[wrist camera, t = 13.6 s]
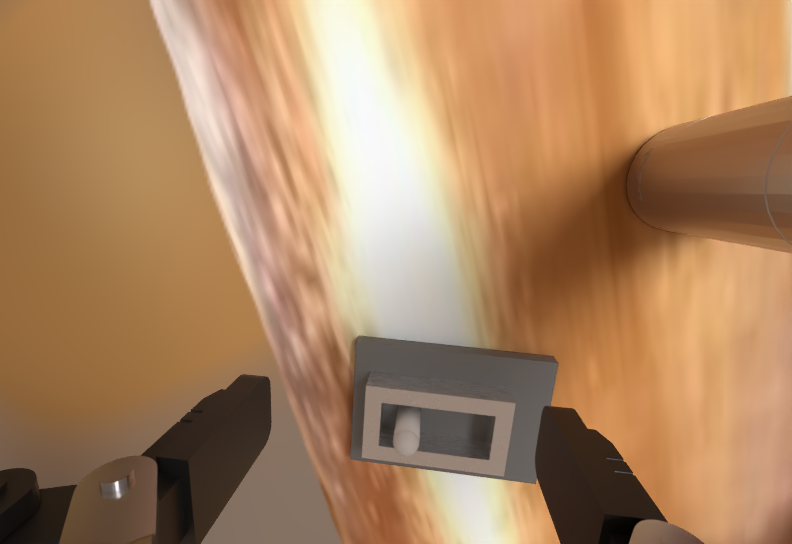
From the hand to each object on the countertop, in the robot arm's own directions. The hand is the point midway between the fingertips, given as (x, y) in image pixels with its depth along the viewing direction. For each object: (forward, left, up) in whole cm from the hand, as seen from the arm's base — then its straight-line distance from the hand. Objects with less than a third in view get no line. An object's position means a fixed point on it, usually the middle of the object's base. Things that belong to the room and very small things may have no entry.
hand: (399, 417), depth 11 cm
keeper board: (-4, +16, -26) cm, 31 cm away
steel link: (-3, +16, -25) cm, 30 cm away
